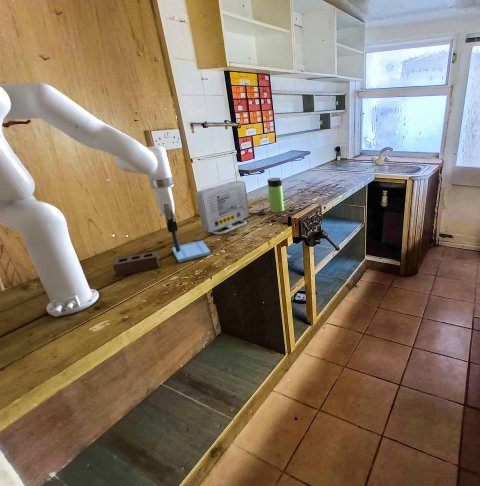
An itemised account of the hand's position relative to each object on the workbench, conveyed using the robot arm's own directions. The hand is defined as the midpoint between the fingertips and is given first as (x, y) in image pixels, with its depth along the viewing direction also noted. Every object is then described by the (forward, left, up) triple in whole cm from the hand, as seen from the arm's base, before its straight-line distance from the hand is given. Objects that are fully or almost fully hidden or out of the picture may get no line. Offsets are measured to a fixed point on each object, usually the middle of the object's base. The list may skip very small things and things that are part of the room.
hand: (173, 230), depth 119 cm
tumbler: (+35, -50, -11) cm, 62 cm away
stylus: (0, 0, -10) cm, 10 cm away
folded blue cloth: (0, -4, -10) cm, 11 cm away
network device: (+22, -22, -11) cm, 33 cm away
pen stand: (-6, +14, -10) cm, 18 cm away
